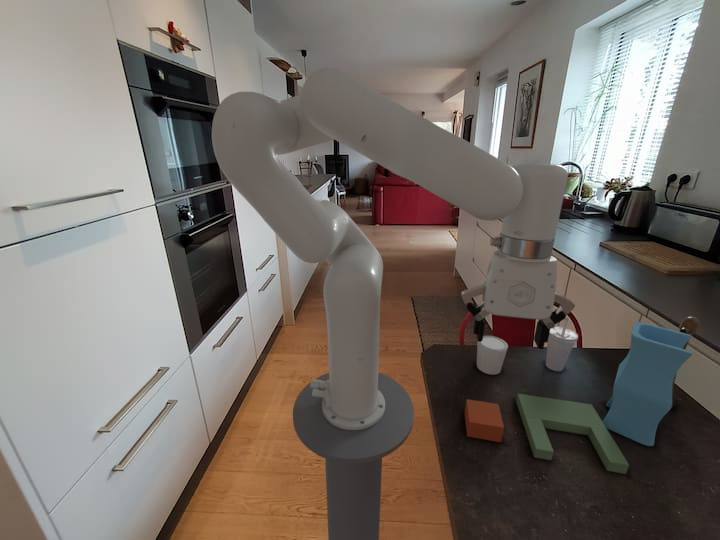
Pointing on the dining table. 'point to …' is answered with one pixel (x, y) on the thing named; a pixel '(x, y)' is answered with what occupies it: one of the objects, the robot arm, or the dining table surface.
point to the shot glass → (491, 354)
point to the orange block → (483, 420)
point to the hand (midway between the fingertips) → (508, 341)
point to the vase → (646, 382)
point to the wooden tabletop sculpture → (687, 327)
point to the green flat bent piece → (567, 428)
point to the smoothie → (559, 346)
